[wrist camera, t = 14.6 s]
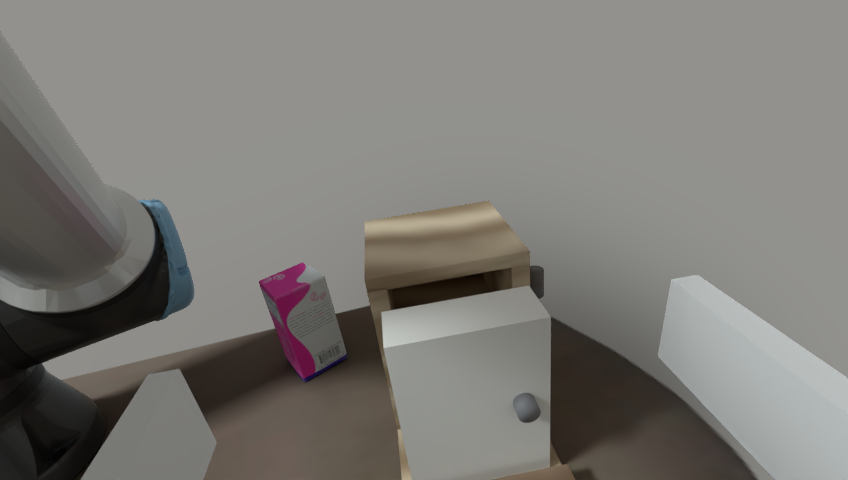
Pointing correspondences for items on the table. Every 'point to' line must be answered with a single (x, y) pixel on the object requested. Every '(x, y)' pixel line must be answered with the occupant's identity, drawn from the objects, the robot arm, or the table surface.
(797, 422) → the robot arm
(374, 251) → the cabinet
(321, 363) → the supplement box
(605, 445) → the table surface
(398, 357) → the door
